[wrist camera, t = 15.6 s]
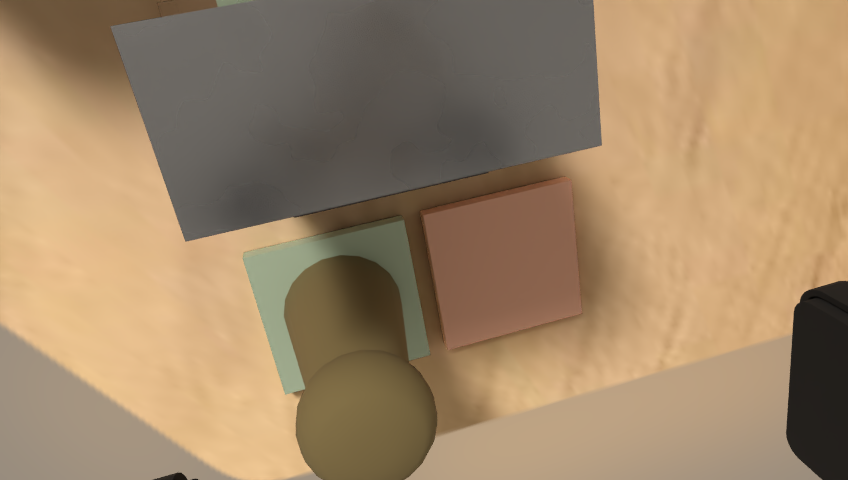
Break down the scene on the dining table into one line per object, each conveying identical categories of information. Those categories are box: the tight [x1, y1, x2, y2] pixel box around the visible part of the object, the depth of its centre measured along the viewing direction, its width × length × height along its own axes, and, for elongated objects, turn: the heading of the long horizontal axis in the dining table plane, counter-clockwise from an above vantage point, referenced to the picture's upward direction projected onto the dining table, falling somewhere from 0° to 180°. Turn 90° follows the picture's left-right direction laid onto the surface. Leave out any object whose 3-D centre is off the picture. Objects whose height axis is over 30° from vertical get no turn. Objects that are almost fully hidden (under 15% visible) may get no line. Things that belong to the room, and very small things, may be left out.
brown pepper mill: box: [284, 255, 437, 480], centre depth 25 cm, size 6×6×11 cm
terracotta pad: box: [420, 177, 582, 350], centre depth 32 cm, size 8×8×1 cm
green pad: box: [243, 215, 430, 395], centre depth 31 cm, size 8×8×1 cm
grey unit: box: [110, 0, 602, 242], centre depth 21 cm, size 13×7×14 cm, turn 100°
